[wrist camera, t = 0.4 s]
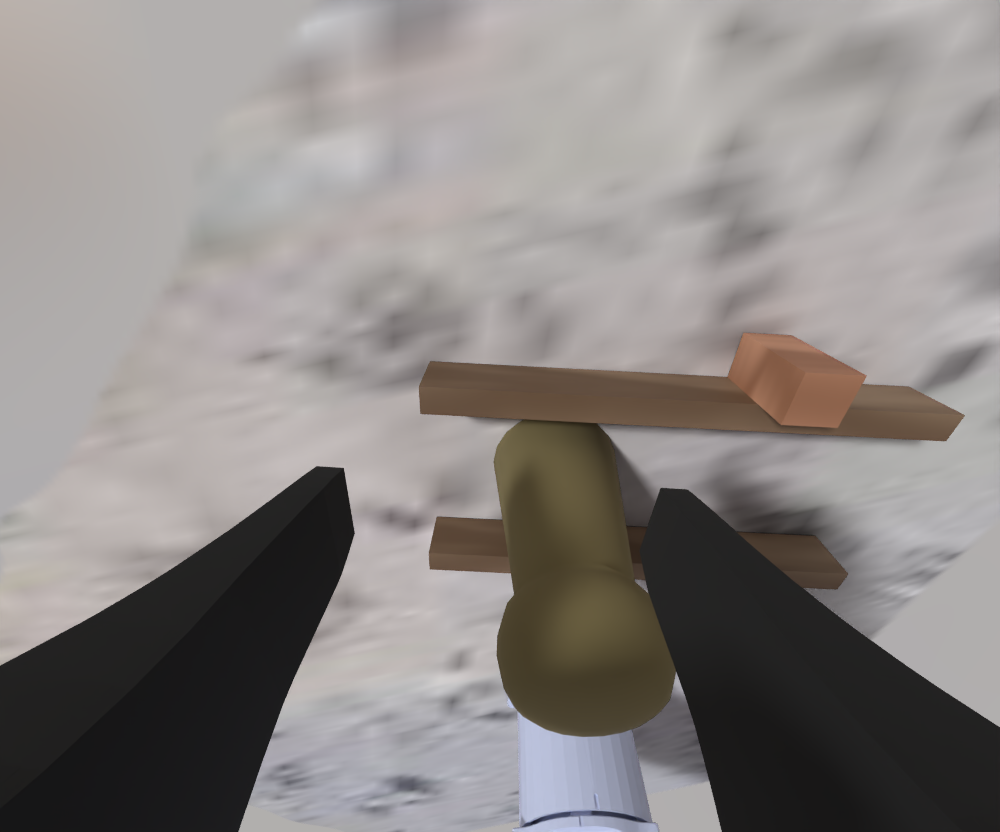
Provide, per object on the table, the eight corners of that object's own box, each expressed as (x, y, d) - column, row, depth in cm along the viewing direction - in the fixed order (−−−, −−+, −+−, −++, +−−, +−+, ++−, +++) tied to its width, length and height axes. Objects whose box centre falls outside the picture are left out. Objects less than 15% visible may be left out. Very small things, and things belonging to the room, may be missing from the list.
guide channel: (791, 574, 24) (839, 640, 20) (438, 556, 24) (426, 620, 20) (936, 343, 17) (1048, 385, 13) (428, 315, 16) (406, 351, 13)
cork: (637, 434, 19) (764, 683, 10) (582, 520, 22) (637, 777, 12) (519, 394, 18) (530, 627, 9) (477, 490, 21) (451, 743, 12)
